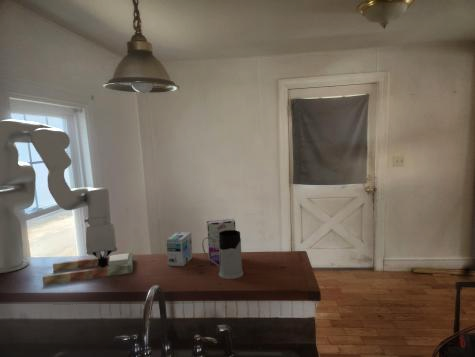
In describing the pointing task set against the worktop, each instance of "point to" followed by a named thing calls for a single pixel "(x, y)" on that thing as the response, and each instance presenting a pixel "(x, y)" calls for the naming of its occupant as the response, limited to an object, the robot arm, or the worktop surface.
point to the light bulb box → (179, 249)
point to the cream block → (118, 259)
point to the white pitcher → (229, 254)
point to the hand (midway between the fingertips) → (103, 267)
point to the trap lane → (85, 273)
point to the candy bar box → (217, 236)
